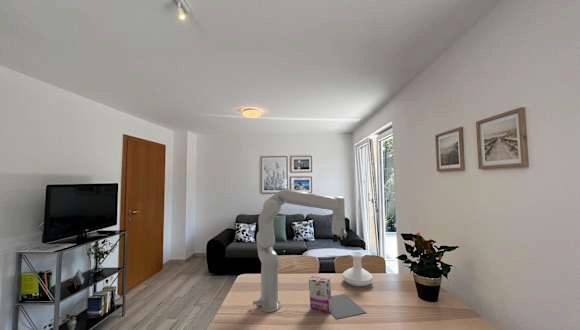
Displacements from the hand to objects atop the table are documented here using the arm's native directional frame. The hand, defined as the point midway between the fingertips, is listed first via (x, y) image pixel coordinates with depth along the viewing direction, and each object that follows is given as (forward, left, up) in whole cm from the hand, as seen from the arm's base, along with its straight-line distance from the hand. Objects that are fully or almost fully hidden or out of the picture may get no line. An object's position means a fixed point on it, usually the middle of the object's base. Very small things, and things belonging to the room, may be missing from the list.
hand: (339, 243), depth 153 cm
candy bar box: (-18, -12, -31) cm, 38 cm away
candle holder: (+20, +11, -32) cm, 39 cm away
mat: (-6, -12, -31) cm, 34 cm away
